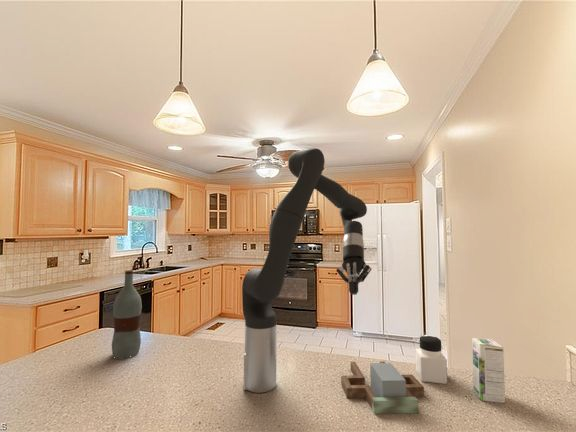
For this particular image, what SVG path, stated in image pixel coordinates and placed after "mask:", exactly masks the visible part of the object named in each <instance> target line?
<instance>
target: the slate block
mask: <svg viewBox="0 0 576 432" xmlns="http://www.w3.org/2000/svg"><path fill="white" fill-rule="evenodd" d="M369 370H370V387H371V389H372V391H373V392H374V394H375V396H376V397H406V380H405V379H404V378H403V377H402V375H403V374H401V373H400V372H399V371H398V369H397V368H396V367H395V365H394V364H392V362H385V363H380V362H374V363H373V362H372V363H371V362H370V369H369Z"/></svg>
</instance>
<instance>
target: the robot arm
mask: <svg viewBox="0 0 576 432" xmlns="http://www.w3.org/2000/svg"><path fill="white" fill-rule="evenodd" d="M325 162H326V161H325V155H324V153H323V151H322V150H321V149H320V148H315V147H313V148H306V149H302V150H297V151H294V152H293V153H291V154H290V156H289V157H288V160H287V163H288V164H287V165H288V169H289V172H290V173H291V175H293V176H294V177H295V178H297V179H296V181H295V183H294V184H293V186H292V187H291V188H290V190H289V191H288V192H287V193H286V194H285V195H284V196H283V197H282V199H280V201H279V202H278V204H277V205H276V207H275V210H274V213H273V216H272V217H271V221H270V223H269V228H268V229H269V231H268V232H269V233H268V235H269V246H268V252H267V255H266V258H265V260H264V263H263V265H262V268H259V267H256V268H255V267H254V268H252V269H250V270H249V271H247V272H246V274H245V275H244V277H243V280H242V286H241V287H242V289H241V297H242V300H241V301H242V303H241V304H242V314H243V316H244V354H243V390H244V391H248V392H252V393H259V394H260V393H267V392H270V391H272V390H274V389H275V388H276V387H277V341H278V340H277V336H278V335H277V331H278V330H277V329H278V328H277V327H278V325H277V323H278V322H277V318H278V317H277V314H276V312H275V311H274V309H273V307H272V305H271V303H273V302H274V301H276V300H277V298H278V297H279V295H280V293H281V292H282V289H283V286H284V280H285V278H286V277H285V276H286V274H287V268H288V265H289V261H290V258H291V255H292V251H293V249H294V246H295V242H296V240H297V236H298V234H299V232H300V229H301V227H302V223H303V220H304V217H305V214H306V211H307V209H308V206H309V204H310V201H311V197H312V195H313V193H314V191H315V190H316V191H317V192H318V193H320V195H323V196H324V197H325V199H327V200H328V201H329V202H330V203H332V204H333V206H335V207H336V208H337V209H339V215H340V217H341V221H342V224H343V225H342V226H343V241H342V264H341V267H340V268H337V269H336V270H335V271H336V272H337V273H338V275H339V276H340V277H341V279H342V280H343V281H344V282H345V283H346V284H348V292H349V293H350V294H351V295H352V296H354V295H358V293H359V284H360V283H363V282H364V281H365V280H366V279H367V277H368V275H369V274H370V273H371V271H372V267H371V266H370V265H369V264H366V262H365V243H364V239H363V238H364V236H363V235H364V232H363V231H364V230H363V229H364V228H363V224H362V222H360V221H358V220H356V219H360V218H362V217H365V216H366V215H367V212H368V208H367V205H366V203H365V202H364V201H363V200H362V199H360V198H359V197H357V196H355V195H353V194H351V193H349V192H348V191H347V190H346V189H345V188H344V187H343V186H342V185H341V184H340V183H338V182H336V181H335V180H333V179H331V178H329V177H327V176H325V175H323V171H324V168H325V164H326V163H325ZM345 273H346V274H347V276H346V275H345Z"/></svg>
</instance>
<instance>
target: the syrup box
mask: <svg viewBox="0 0 576 432" xmlns="http://www.w3.org/2000/svg"><path fill="white" fill-rule="evenodd" d="M471 341H472V342H471V343H472V388H473V389H472V391H474V392H475V395H477V397H478V398H479V400H480V401H482V402H492V403H501V404H502V403H503V404H505V403H506V395H505V394H506V390H505V389H506V388H505V355H504V350H505V349H504V347H503V346H502V345H500V344H499V343H498V342H497V341H495V340H494V339H491V338H483V337H472V339H471Z"/></svg>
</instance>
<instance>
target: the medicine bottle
mask: <svg viewBox="0 0 576 432" xmlns="http://www.w3.org/2000/svg"><path fill="white" fill-rule="evenodd" d="M447 361H448V360H447V358H446V356H444V354H443V353H442V340H441V339H440V338H438V337H436V336H434V335H429V334H426V335H421V336H419V348H415V368H416V369H415V370H416V373H417V375H418V376H419V379H420V380H421V382H424V383H436V384H445V385H446V384H448V365H447V364H448V363H447Z"/></svg>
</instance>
